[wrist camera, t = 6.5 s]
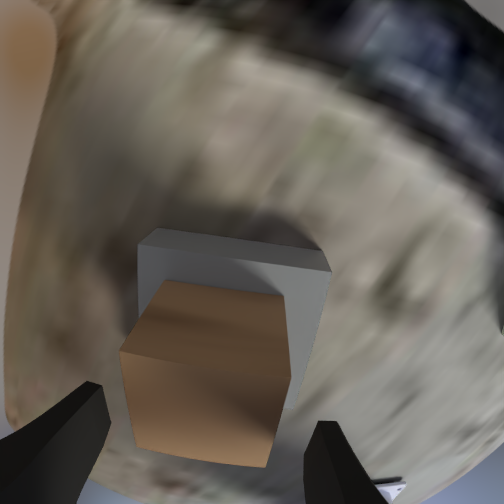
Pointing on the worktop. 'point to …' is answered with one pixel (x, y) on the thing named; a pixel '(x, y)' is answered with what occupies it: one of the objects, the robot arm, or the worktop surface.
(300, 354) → the slate tile
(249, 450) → the walnut cube
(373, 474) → the worktop surface
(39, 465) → the robot arm
